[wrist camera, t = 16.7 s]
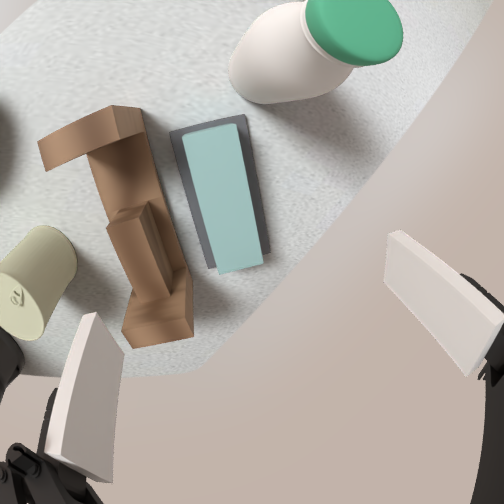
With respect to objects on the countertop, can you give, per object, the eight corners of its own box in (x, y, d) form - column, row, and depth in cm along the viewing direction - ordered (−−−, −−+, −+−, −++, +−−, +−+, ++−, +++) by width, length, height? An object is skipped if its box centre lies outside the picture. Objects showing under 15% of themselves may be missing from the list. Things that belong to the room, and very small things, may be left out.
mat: (208, 266, 35) (208, 268, 34) (170, 131, 26) (169, 132, 26) (269, 250, 35) (270, 252, 35) (243, 114, 27) (244, 114, 26)
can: (88, 255, 31) (54, 315, 20) (62, 296, 32) (32, 355, 22) (38, 211, 26) (-14, 257, 16) (17, 258, 28) (-24, 308, 18)
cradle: (144, 292, 35) (132, 348, 26) (83, 130, 24) (37, 141, 15) (192, 280, 35) (193, 336, 26) (140, 108, 24) (111, 105, 15)
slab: (216, 257, 33) (219, 274, 30) (184, 134, 26) (181, 137, 23) (256, 246, 34) (263, 263, 30) (231, 123, 26) (236, 124, 23)
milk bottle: (291, 110, 27) (420, 120, 10) (221, 98, 25) (264, 66, 8) (302, 49, 24) (430, -2, 7) (233, 35, 22) (291, -68, 5)
